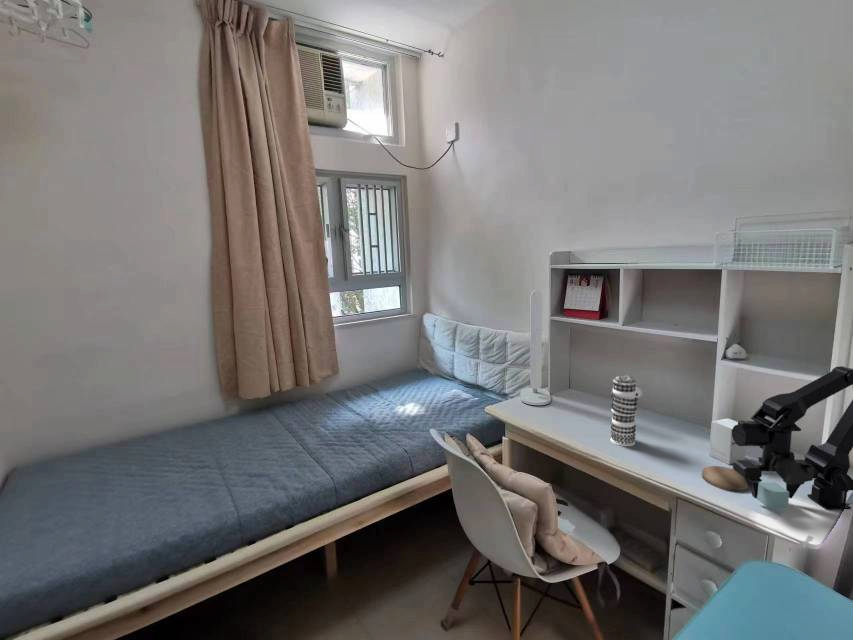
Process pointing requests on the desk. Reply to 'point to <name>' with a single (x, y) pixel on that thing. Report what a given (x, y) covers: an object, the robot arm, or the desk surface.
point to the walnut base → (724, 478)
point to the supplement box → (725, 442)
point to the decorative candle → (623, 411)
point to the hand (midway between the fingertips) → (772, 497)
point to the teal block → (773, 495)
